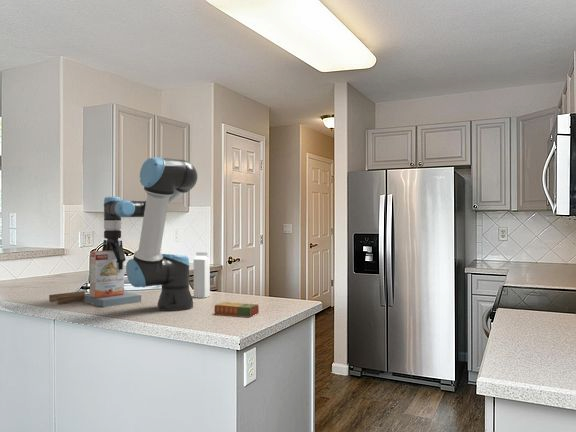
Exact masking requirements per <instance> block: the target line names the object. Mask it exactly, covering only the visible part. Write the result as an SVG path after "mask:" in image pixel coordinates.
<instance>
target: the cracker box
mask: <svg viewBox="0 0 576 432" xmlns="http://www.w3.org/2000/svg"><path fill="white" fill-rule="evenodd" d="M89 260H90V263H89V265H90V266H89V267H90V268H89V272H90V273H89V294H90V297H93V298H100V297H108V296H117V295H124V292H125V261H124V262H123V276H122V277H116V261H117V259H116V257H115V254H114V251H102V250H95V251H94V250H93V251H90V259H89Z"/></svg>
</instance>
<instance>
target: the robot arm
mask: <svg viewBox="0 0 576 432" xmlns="http://www.w3.org/2000/svg"><path fill="white" fill-rule="evenodd" d="M139 178H140V180H139V182H140V185H142V186H143V190H144V192H145V193H146V199H145V200H126V199H123V200H122V198H121V197H120V196H106V197H104V199H103V230H104V231H103V238H104V239H103V244H102V248H101V251H114V254H115V257H116V259H117V261H116V277H122V276H123V262H124V263H125V262H126V265H125V272H126V273H125V274H126V277H127V280H128V282H129V284H130V285H131V286H133V288H148V287H154V286H155V287H156V286H161V292H160V295H159V298H158V301H157V308H156V309H158V310H160V311H166V312H167V311H171V312H173V311H175V312H176V311H184V310H190V309H192V308H193V307H194V301H193V296H192V293H191V291H190V260H189V259H190V258H189V257H188V256H186V255H180V254H171V253H161V248H162V244H163V243H162V242H163V238H164V237H163V236H164V231H165V226H166V225H165V224H166V219H167V213H168V208H169V207H168V205H169V204H170V203H171V202H173V200H175V199H177V197H179V196H180V195H182V194H185V193H188V192H189V191H191V190H192V189H193V188H195V185H196V184H197V182H198V171H197V170H196V167H195V166H194V165H193V164H192V163H191V162H189V161H187V160H185V159H175V158H166V157H160V156H159V157H149V158H147V159H145V161H144V162H143V163H142V165H141V168H140V172H139ZM122 218H143V219H142V225H141V226H142V227H141V232H140V237H139V245H138V250H135V252H134V253H133V258H131V259H128V260H127V261H126V255H125V250H124V247H123V240H119V239H121V238H122V230H121V229H122Z"/></svg>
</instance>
